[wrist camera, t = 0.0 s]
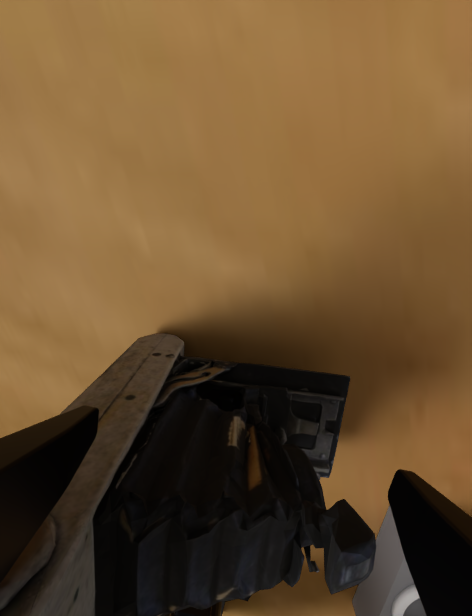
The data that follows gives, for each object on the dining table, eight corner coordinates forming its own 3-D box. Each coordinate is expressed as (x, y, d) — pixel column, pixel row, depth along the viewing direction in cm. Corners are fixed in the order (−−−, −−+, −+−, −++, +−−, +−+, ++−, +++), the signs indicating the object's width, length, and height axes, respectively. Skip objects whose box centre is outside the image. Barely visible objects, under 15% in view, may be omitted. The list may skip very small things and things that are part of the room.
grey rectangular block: (432, 618, 29) (463, 684, 25) (352, 601, 29) (368, 664, 25) (479, 523, 26) (523, 579, 22) (389, 504, 26) (416, 557, 22)
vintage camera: (315, 449, 26) (533, 1069, 7) (140, 432, 26) (-161, 1000, 7) (334, 346, 24) (739, 807, 4) (143, 327, 24) (-292, 705, 4)
